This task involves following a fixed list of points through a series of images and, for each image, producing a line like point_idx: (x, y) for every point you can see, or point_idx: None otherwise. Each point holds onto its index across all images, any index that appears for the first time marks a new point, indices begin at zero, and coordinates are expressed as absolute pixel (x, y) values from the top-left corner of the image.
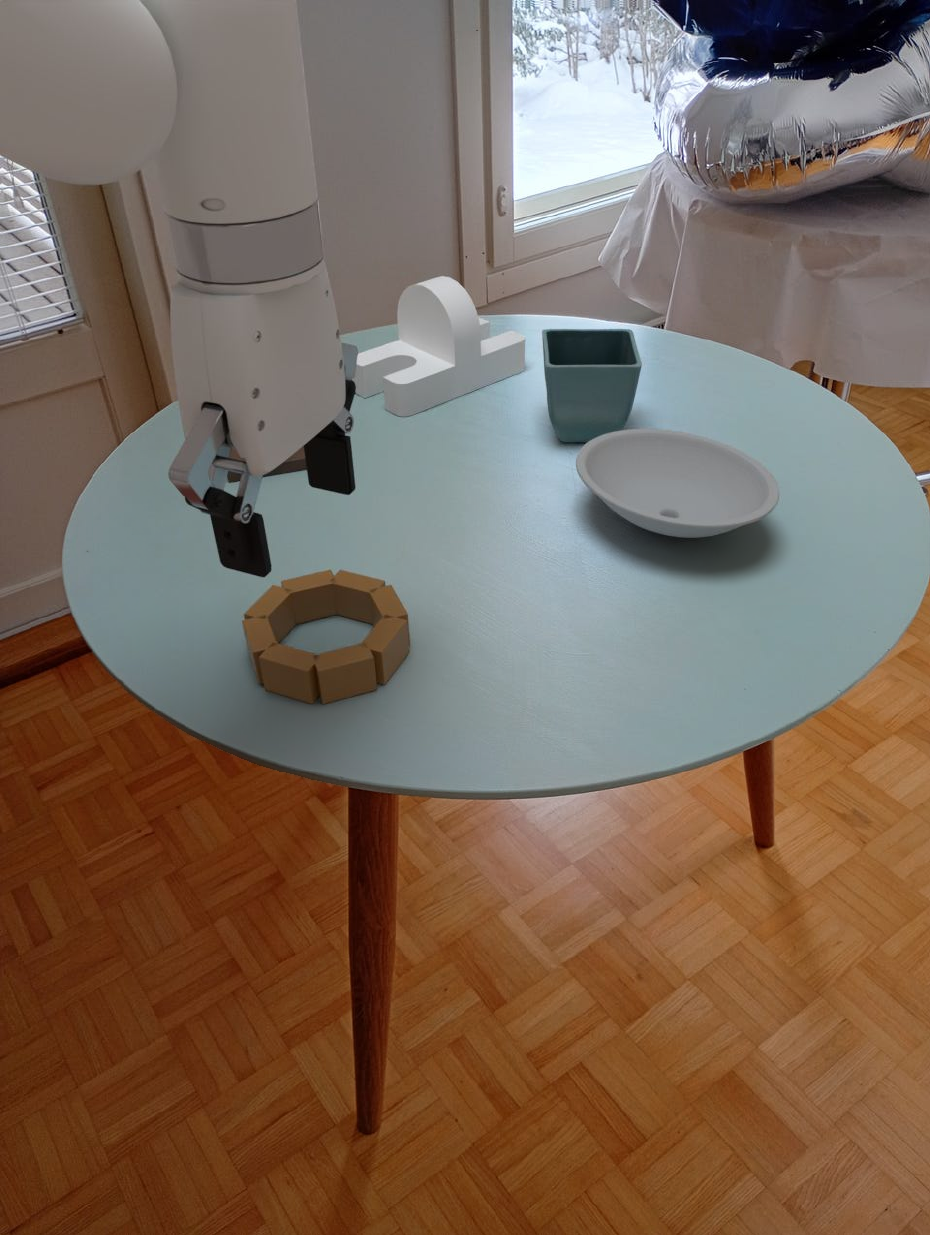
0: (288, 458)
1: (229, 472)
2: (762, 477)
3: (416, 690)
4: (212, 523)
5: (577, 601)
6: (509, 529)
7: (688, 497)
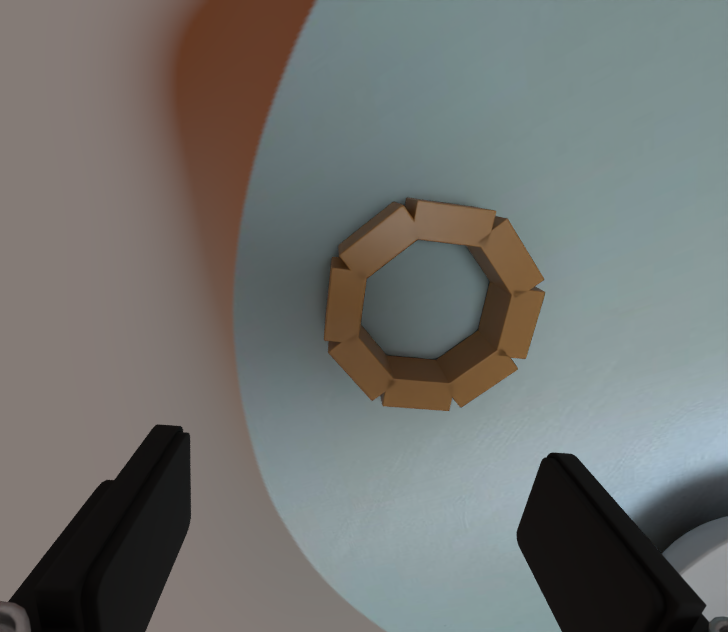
0: None
1: None
2: None
3: (378, 410)
4: (81, 526)
5: None
6: (681, 412)
7: (724, 570)
